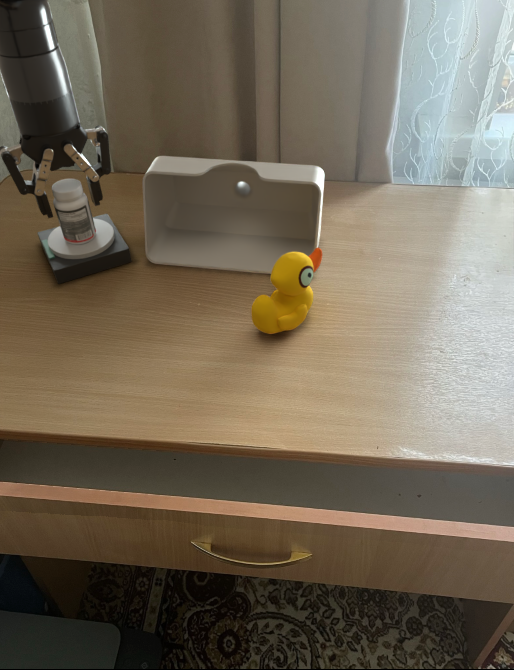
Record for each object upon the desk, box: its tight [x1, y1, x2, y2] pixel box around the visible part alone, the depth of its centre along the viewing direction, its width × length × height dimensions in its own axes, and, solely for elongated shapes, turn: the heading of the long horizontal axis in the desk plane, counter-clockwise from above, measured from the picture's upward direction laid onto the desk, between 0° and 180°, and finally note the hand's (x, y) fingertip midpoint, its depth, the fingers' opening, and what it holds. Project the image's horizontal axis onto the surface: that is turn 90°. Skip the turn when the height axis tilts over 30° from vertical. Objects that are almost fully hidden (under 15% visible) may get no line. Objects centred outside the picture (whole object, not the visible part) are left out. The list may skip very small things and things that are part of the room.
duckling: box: [250, 247, 323, 335], centre depth 69 cm, size 11×5×10 cm, turn 133°
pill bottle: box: [51, 178, 96, 244], centre depth 79 cm, size 5×5×8 cm
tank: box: [142, 155, 325, 275], centre depth 82 cm, size 25×16×12 cm, turn 80°
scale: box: [36, 213, 133, 285], centre depth 83 cm, size 11×11×3 cm
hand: (73, 208), depth 79 cm, fingers open, 6 cm apart
